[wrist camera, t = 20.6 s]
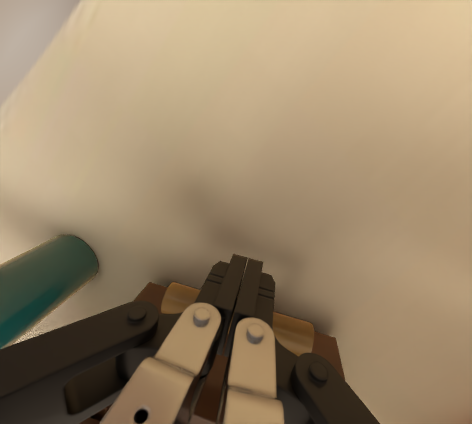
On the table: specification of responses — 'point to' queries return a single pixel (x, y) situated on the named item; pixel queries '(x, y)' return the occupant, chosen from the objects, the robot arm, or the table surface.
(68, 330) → the robot arm
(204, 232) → the table surface
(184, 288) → the drawer
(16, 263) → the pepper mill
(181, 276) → the table surface
